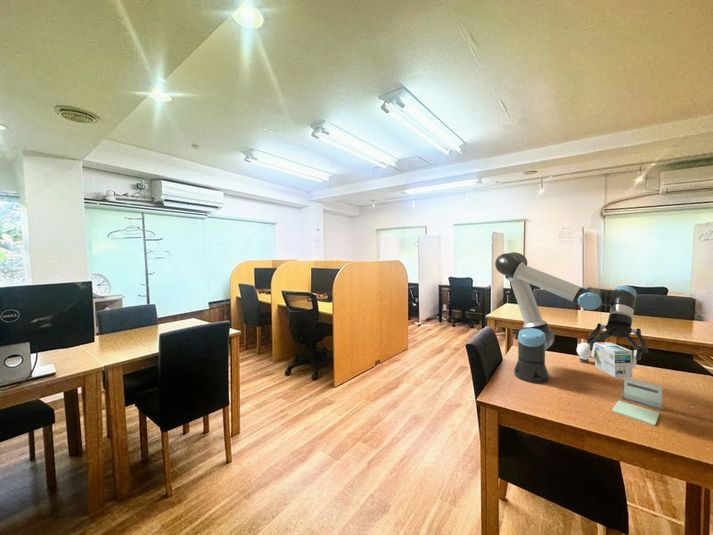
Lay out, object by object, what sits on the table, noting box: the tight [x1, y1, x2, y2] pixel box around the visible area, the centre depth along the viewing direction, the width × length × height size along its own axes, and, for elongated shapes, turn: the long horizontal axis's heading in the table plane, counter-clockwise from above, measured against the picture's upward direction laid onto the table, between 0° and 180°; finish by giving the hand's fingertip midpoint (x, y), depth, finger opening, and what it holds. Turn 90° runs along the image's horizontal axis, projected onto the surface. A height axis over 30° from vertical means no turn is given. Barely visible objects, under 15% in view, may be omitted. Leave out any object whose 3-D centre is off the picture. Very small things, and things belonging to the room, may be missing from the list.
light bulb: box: [576, 342, 592, 364], centre depth 161 cm, size 7×7×11 cm
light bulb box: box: [594, 341, 633, 378], centre depth 117 cm, size 11×7×11 cm, turn 176°
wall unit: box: [622, 377, 664, 411], centre depth 119 cm, size 12×3×9 cm, turn 38°
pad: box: [611, 400, 660, 426], centre depth 113 cm, size 12×11×1 cm
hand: (612, 362), depth 116 cm, fingers closed on light bulb box, 12 cm apart
